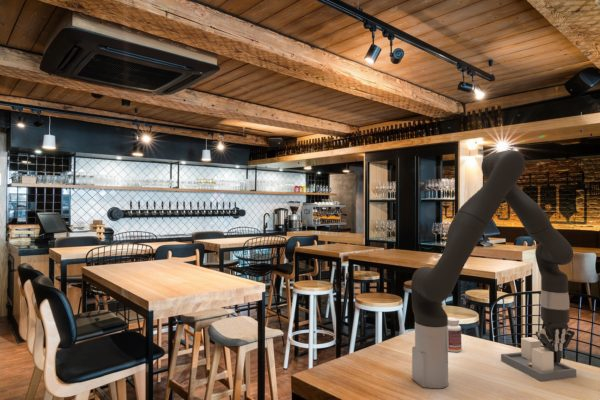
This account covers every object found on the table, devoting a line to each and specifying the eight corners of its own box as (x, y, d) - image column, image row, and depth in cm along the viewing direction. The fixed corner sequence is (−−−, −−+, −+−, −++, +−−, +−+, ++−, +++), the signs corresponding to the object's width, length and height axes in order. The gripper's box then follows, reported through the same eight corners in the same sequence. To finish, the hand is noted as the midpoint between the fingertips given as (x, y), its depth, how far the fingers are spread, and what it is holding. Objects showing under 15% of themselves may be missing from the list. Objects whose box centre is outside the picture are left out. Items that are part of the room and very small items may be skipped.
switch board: (540, 381, 116) (540, 373, 116) (501, 360, 131) (500, 353, 131) (576, 376, 119) (576, 369, 119) (533, 357, 134) (533, 350, 134)
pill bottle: (464, 349, 142) (464, 318, 142) (456, 354, 137) (456, 322, 138) (447, 345, 146) (447, 315, 146) (440, 349, 142) (439, 318, 142)
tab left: (531, 360, 127) (530, 342, 128) (521, 356, 131) (521, 338, 131) (541, 359, 128) (541, 341, 129) (531, 355, 132) (531, 337, 132)
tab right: (542, 373, 118) (542, 353, 118) (531, 368, 122) (531, 348, 122) (553, 372, 119) (553, 352, 119) (542, 366, 123) (542, 347, 123)
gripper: (547, 309, 116) (548, 368, 116) (583, 307, 119) (584, 364, 119) (527, 303, 124) (527, 359, 123) (561, 301, 127) (562, 355, 126)
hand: (555, 361), depth 121 cm, fingers closed
